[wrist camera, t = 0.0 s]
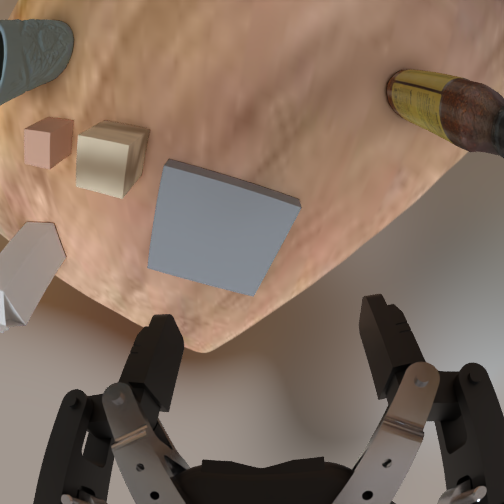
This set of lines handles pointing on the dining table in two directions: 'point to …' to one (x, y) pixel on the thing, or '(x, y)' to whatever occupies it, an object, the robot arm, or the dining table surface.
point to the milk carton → (27, 271)
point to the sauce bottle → (450, 108)
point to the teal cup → (32, 54)
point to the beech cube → (110, 157)
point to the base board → (217, 228)
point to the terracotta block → (48, 142)
